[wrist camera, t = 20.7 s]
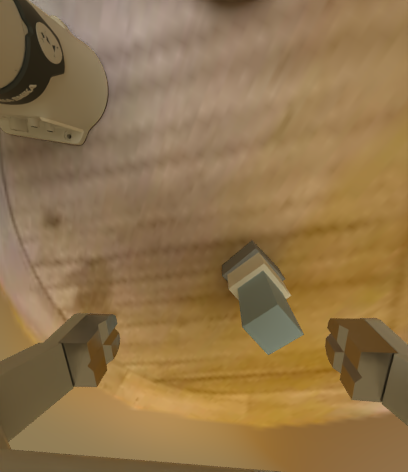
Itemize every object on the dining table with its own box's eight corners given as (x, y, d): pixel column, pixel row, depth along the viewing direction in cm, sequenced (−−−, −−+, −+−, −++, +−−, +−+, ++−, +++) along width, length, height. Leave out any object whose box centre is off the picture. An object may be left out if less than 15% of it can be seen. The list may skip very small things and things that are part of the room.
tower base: (247, 290, 44) (250, 304, 39) (222, 265, 43) (222, 276, 38) (278, 267, 42) (285, 279, 37) (251, 239, 41) (255, 248, 36)
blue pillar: (256, 310, 34) (268, 355, 25) (237, 288, 33) (242, 327, 25) (282, 293, 33) (303, 334, 24) (263, 270, 32) (277, 304, 23)
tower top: (250, 301, 39) (254, 318, 34) (227, 274, 38) (228, 288, 33) (282, 280, 38) (291, 295, 33) (258, 252, 37) (264, 263, 32)
